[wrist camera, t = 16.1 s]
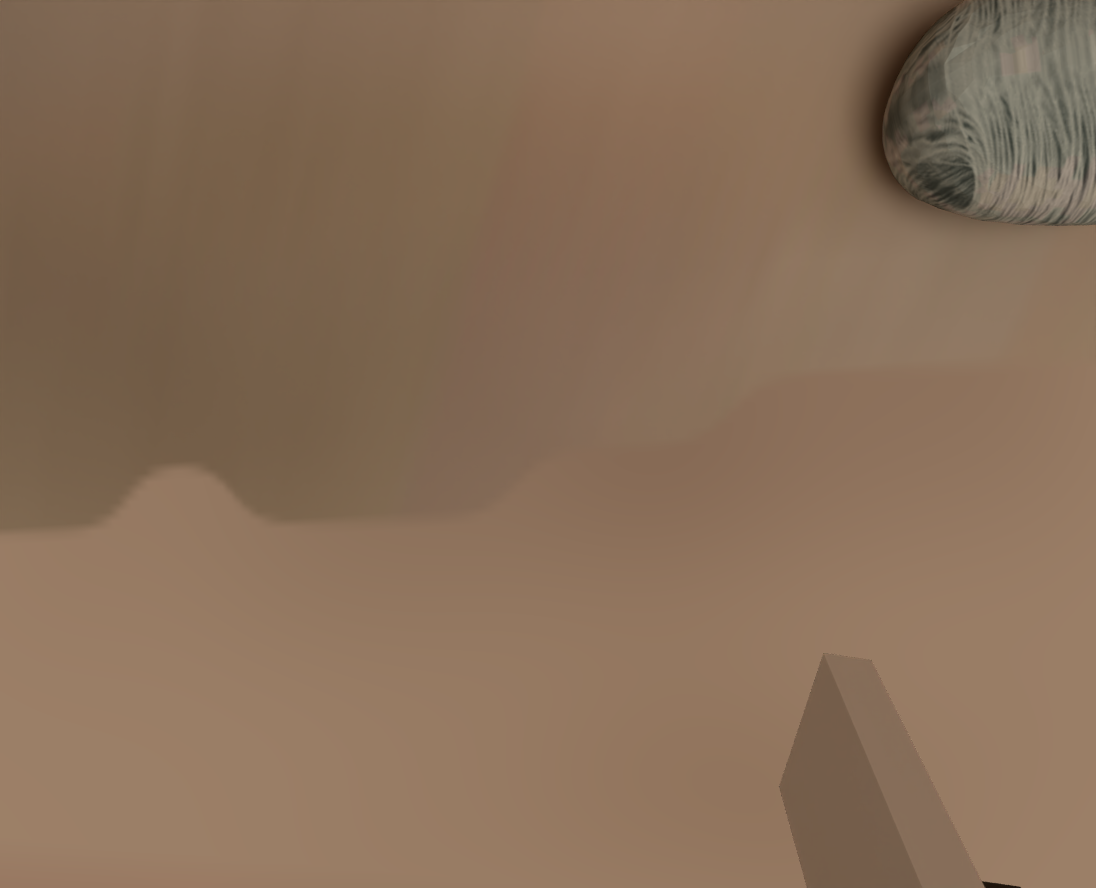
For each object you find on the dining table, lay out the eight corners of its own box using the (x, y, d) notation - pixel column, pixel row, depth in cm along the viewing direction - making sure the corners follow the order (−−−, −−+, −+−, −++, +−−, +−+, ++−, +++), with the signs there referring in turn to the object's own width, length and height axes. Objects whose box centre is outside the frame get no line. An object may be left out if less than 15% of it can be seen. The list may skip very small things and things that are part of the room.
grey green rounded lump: (851, 265, 36) (1028, 168, 26) (831, 46, 37) (996, -127, 27) (1128, 264, 39) (1381, 176, 29) (1103, 60, 40) (1342, -92, 30)
